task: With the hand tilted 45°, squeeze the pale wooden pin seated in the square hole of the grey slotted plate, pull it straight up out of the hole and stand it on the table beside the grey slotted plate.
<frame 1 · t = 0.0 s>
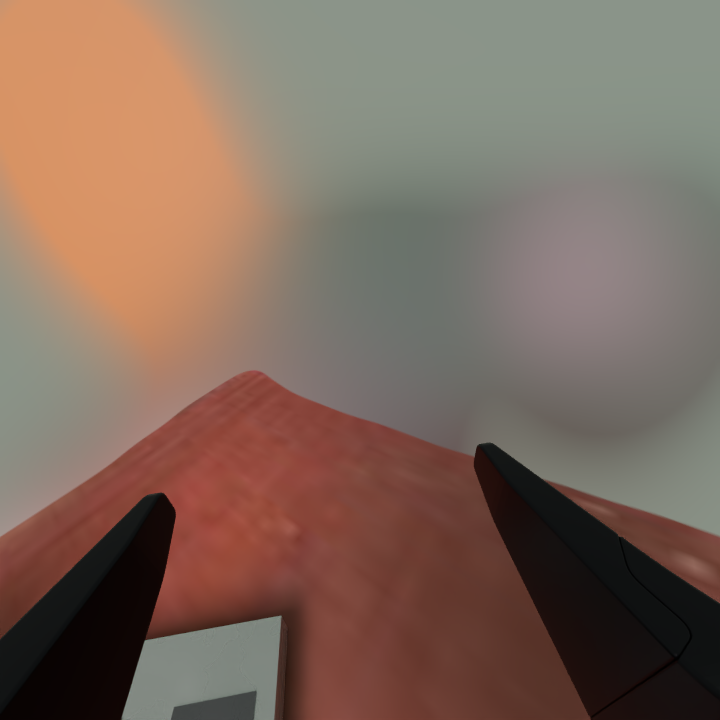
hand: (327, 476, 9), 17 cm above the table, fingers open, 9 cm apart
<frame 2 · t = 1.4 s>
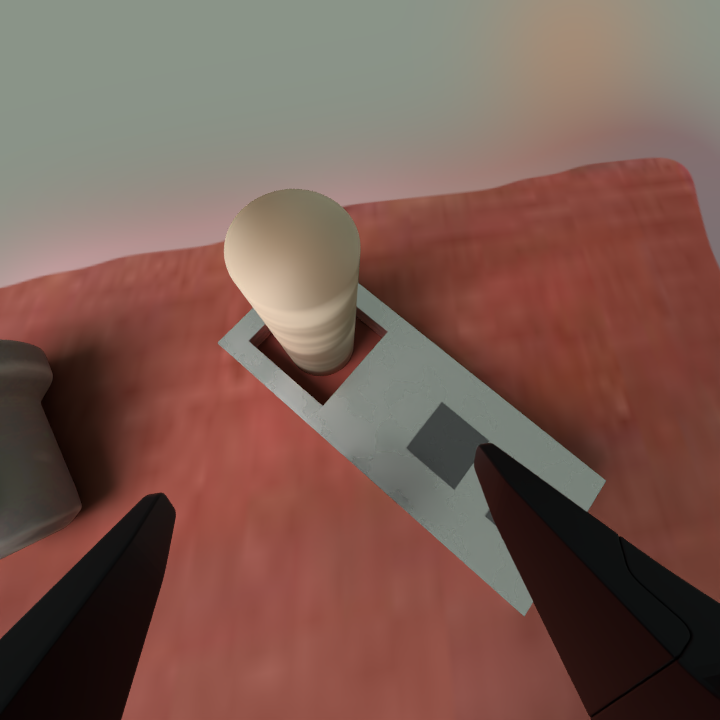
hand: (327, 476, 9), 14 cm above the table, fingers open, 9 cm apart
pin: (321, 344, 24), resting in grey slotted plate
grey slotted plate: (401, 412, 23), on the table
pipe fitting: (43, 451, 22), on the table
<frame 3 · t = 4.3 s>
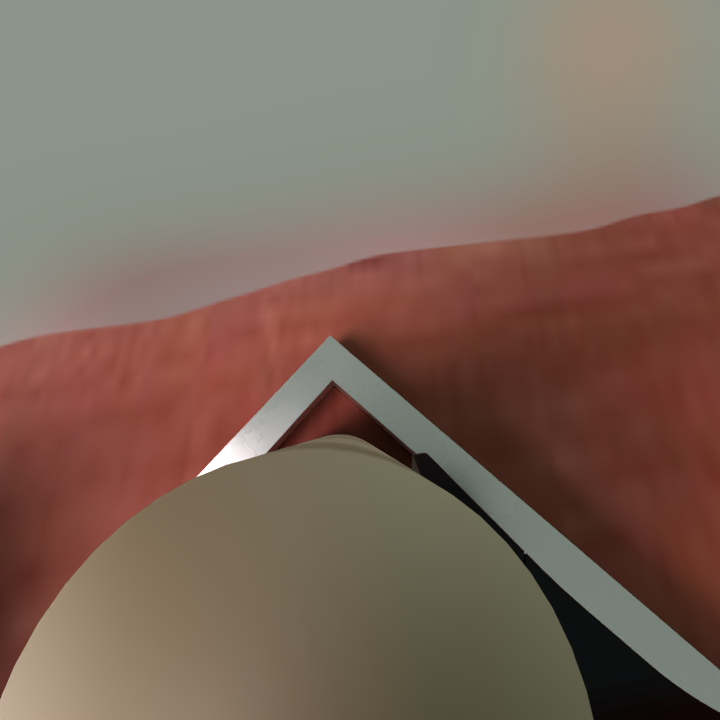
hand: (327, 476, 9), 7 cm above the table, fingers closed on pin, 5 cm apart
pin: (339, 486, 15), resting in grey slotted plate, touching gripper
grey slotted plate: (470, 608, 14), on the table
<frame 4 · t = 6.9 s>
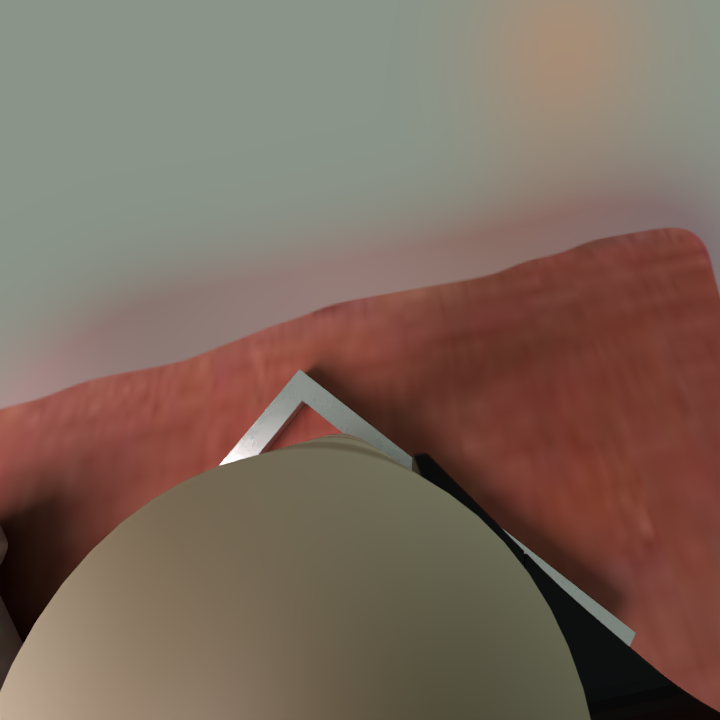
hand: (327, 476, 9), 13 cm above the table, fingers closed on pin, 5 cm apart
pin: (338, 486, 15), point 7 cm above the table, touching gripper
grey slotted plate: (405, 550, 21), on the table
pipe fitting: (3, 625, 19), on the table
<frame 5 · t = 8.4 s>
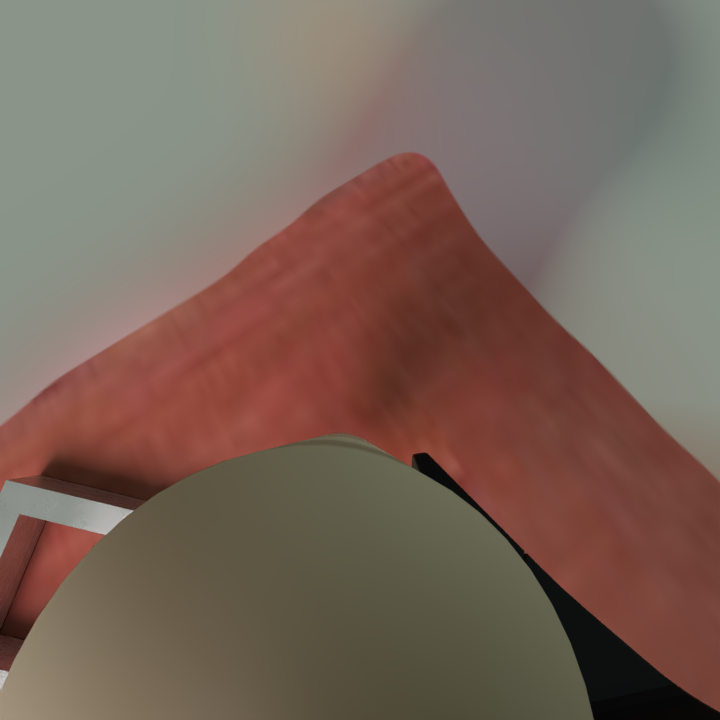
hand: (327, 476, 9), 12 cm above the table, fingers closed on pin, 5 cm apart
pin: (339, 485, 15), point 6 cm above the table, touching gripper
grey slotted plate: (213, 612, 19), on the table
when the fingers open (8 cm above the table, at t = 9.6 s): pin drops 1 cm, on the table.
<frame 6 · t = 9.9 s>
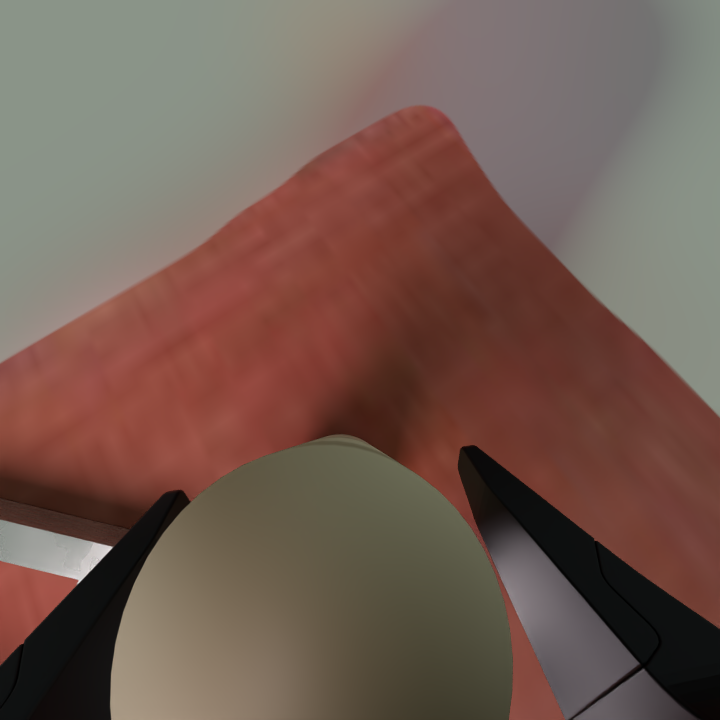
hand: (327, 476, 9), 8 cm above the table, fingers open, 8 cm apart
pin: (339, 482, 17), on the table
grey slotted plate: (176, 665, 15), on the table
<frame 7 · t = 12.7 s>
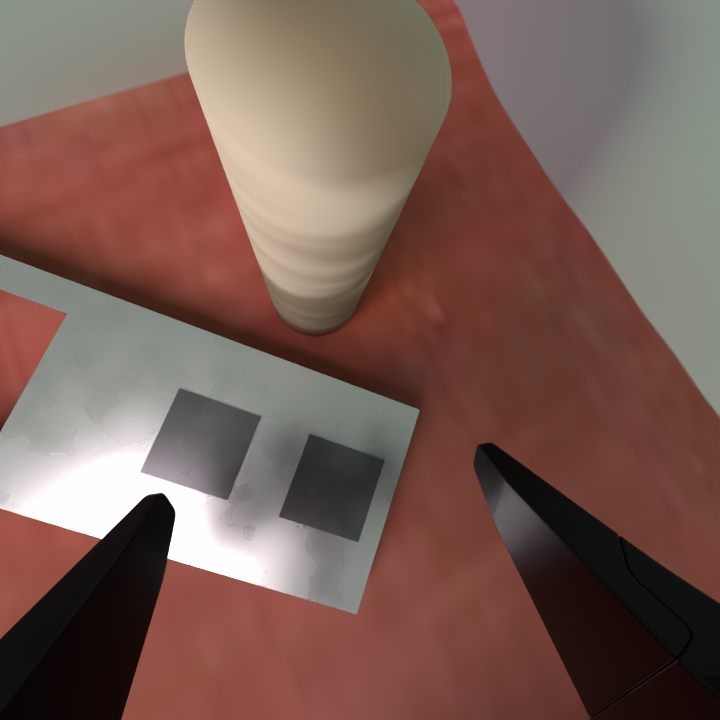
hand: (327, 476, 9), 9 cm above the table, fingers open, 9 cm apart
pin: (315, 295, 19), on the table
grey slotted plate: (150, 416, 16), on the table
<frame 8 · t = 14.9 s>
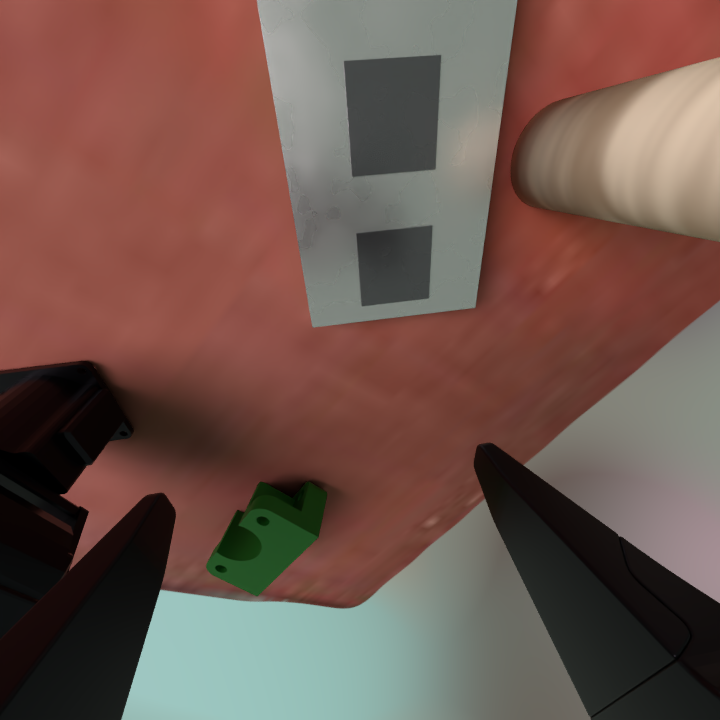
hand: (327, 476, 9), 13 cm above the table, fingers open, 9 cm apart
pin: (554, 157, 17), on the table
grey slotted plate: (382, 24, 14), on the table
clamp: (270, 501, 30), on the table
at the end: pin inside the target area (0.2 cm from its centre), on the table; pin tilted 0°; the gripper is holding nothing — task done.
